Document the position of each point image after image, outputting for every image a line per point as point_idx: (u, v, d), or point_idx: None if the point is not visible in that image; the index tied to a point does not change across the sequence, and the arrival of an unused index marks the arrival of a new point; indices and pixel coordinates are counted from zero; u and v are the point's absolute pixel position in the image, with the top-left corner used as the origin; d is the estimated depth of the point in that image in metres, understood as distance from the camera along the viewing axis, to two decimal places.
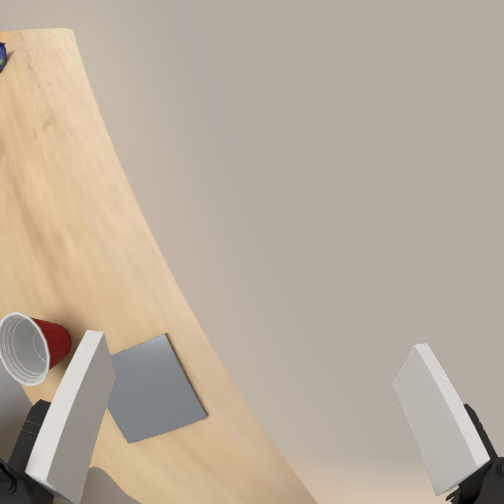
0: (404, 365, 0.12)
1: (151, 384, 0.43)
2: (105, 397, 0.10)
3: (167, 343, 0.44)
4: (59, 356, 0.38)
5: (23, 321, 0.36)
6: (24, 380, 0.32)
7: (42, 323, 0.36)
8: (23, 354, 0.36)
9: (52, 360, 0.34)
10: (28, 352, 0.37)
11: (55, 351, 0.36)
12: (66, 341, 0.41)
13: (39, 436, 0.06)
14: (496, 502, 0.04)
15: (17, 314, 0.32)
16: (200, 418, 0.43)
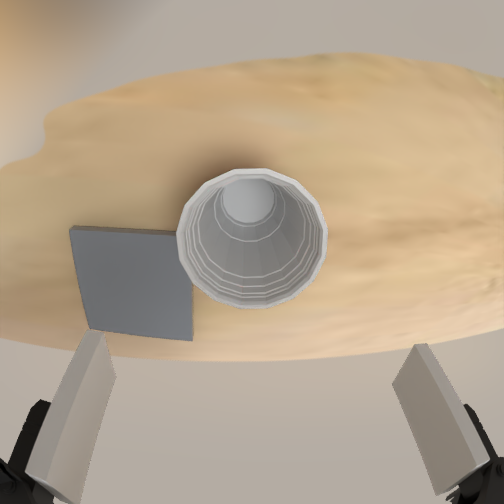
0: (404, 365, 0.12)
1: (139, 303, 0.36)
2: (105, 397, 0.10)
3: (181, 339, 0.39)
4: None
5: (301, 229, 0.25)
6: (194, 204, 0.21)
7: None
8: None
9: None
10: None
11: None
12: None
13: (39, 436, 0.06)
14: (496, 502, 0.04)
15: (312, 275, 0.23)
16: (89, 323, 0.37)
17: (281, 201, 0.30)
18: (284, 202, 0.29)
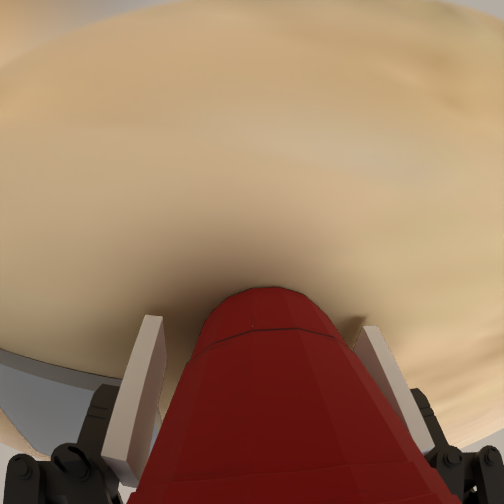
0: (355, 347, 0.13)
1: None
2: (161, 380, 0.12)
3: None
4: None
5: None
6: None
7: None
8: None
9: None
10: None
11: None
12: None
13: (112, 418, 0.07)
14: None
15: None
16: (33, 447, 0.19)
17: None
18: None
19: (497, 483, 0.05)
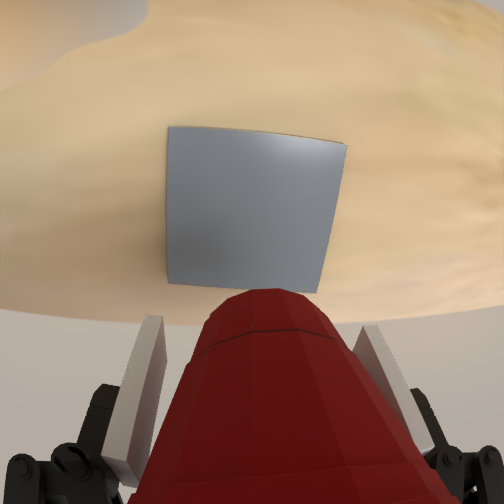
0: (355, 347, 0.13)
1: (258, 238, 0.28)
2: (161, 380, 0.12)
3: (302, 290, 0.31)
4: None
5: None
6: None
7: None
8: None
9: None
10: None
11: None
12: None
13: (113, 418, 0.07)
14: None
15: None
16: (170, 274, 0.29)
17: None
18: None
19: (497, 484, 0.05)
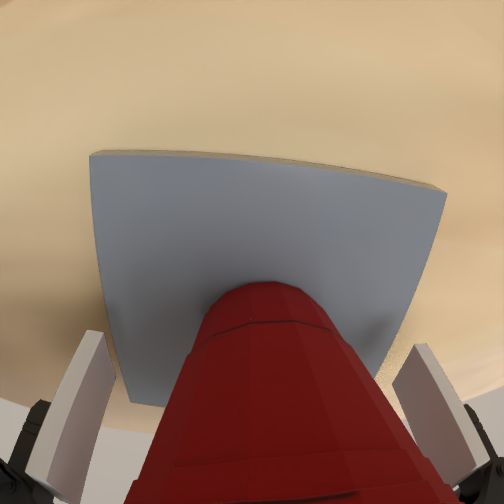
0: (404, 365, 0.12)
1: None
2: (105, 397, 0.10)
3: None
4: None
5: None
6: None
7: None
8: None
9: None
10: None
11: None
12: None
13: (39, 436, 0.06)
14: (496, 502, 0.04)
15: None
16: (131, 393, 0.16)
17: None
18: None
19: None
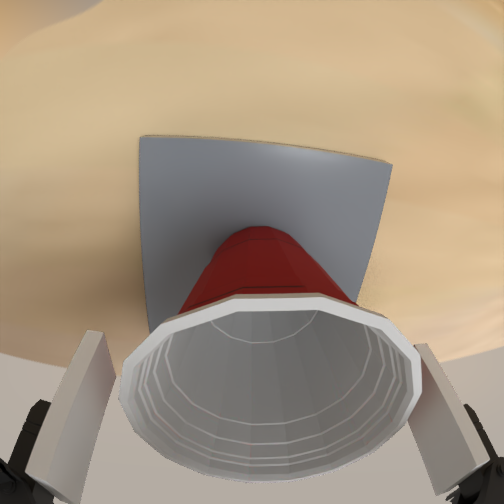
0: None
1: None
2: (105, 397, 0.10)
3: None
4: None
5: (358, 358, 0.13)
6: (146, 357, 0.09)
7: None
8: None
9: None
10: None
11: None
12: None
13: (39, 436, 0.06)
14: (496, 502, 0.04)
15: (373, 447, 0.10)
16: (152, 330, 0.22)
17: None
18: None
19: None
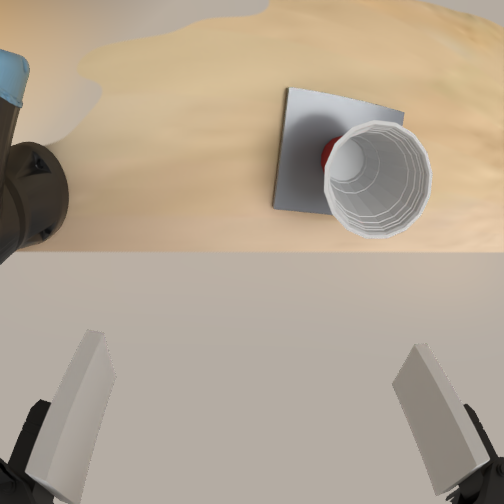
0: (404, 365, 0.12)
1: None
2: (105, 397, 0.10)
3: None
4: (331, 190, 0.31)
5: (403, 178, 0.28)
6: (340, 145, 0.24)
7: None
8: (366, 133, 0.27)
9: (337, 205, 0.28)
10: (362, 134, 0.28)
11: None
12: None
13: (39, 436, 0.06)
14: (496, 502, 0.04)
15: (420, 210, 0.26)
16: (276, 201, 0.37)
17: (374, 161, 0.33)
18: (379, 161, 0.32)
19: None
